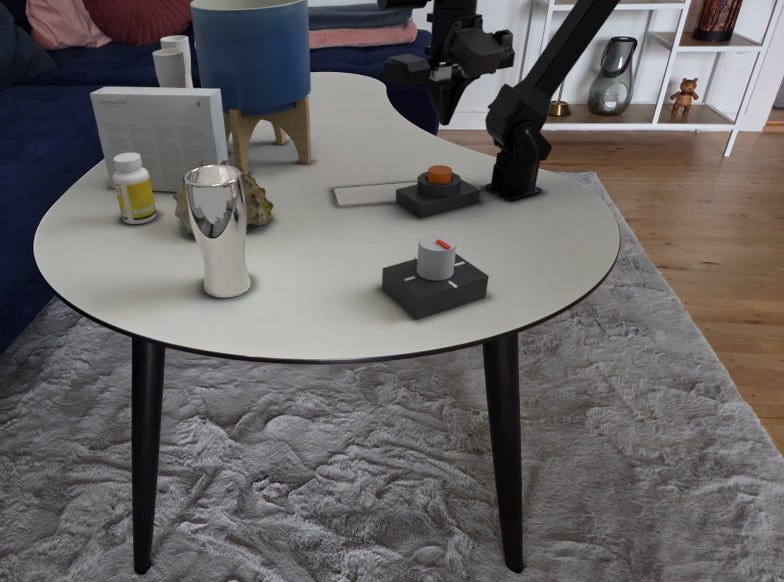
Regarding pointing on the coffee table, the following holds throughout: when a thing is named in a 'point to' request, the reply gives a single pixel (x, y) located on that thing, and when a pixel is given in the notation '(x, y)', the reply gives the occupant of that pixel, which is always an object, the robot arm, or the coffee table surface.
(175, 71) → the binoculars
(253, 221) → the seashell
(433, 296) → the timer panel
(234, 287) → the beer glass
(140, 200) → the supplement bottle
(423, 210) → the button block
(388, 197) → the smartphone
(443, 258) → the timer knob
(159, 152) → the skincare box
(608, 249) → the coffee table surface
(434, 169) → the button
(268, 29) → the planter
